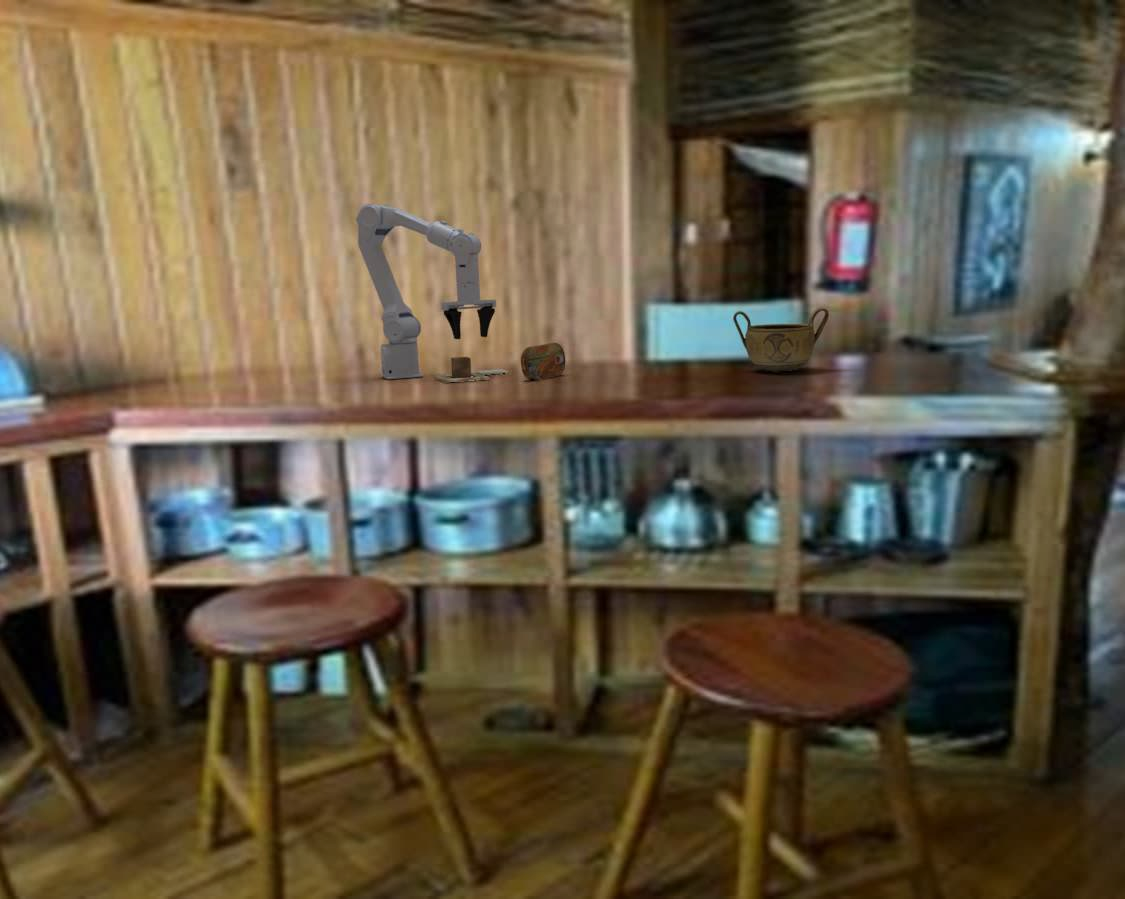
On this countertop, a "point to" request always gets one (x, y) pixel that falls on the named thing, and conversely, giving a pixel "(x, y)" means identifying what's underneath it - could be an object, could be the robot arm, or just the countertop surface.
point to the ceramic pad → (492, 372)
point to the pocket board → (448, 378)
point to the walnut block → (461, 367)
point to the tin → (543, 361)
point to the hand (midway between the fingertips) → (470, 338)
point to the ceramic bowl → (780, 343)
